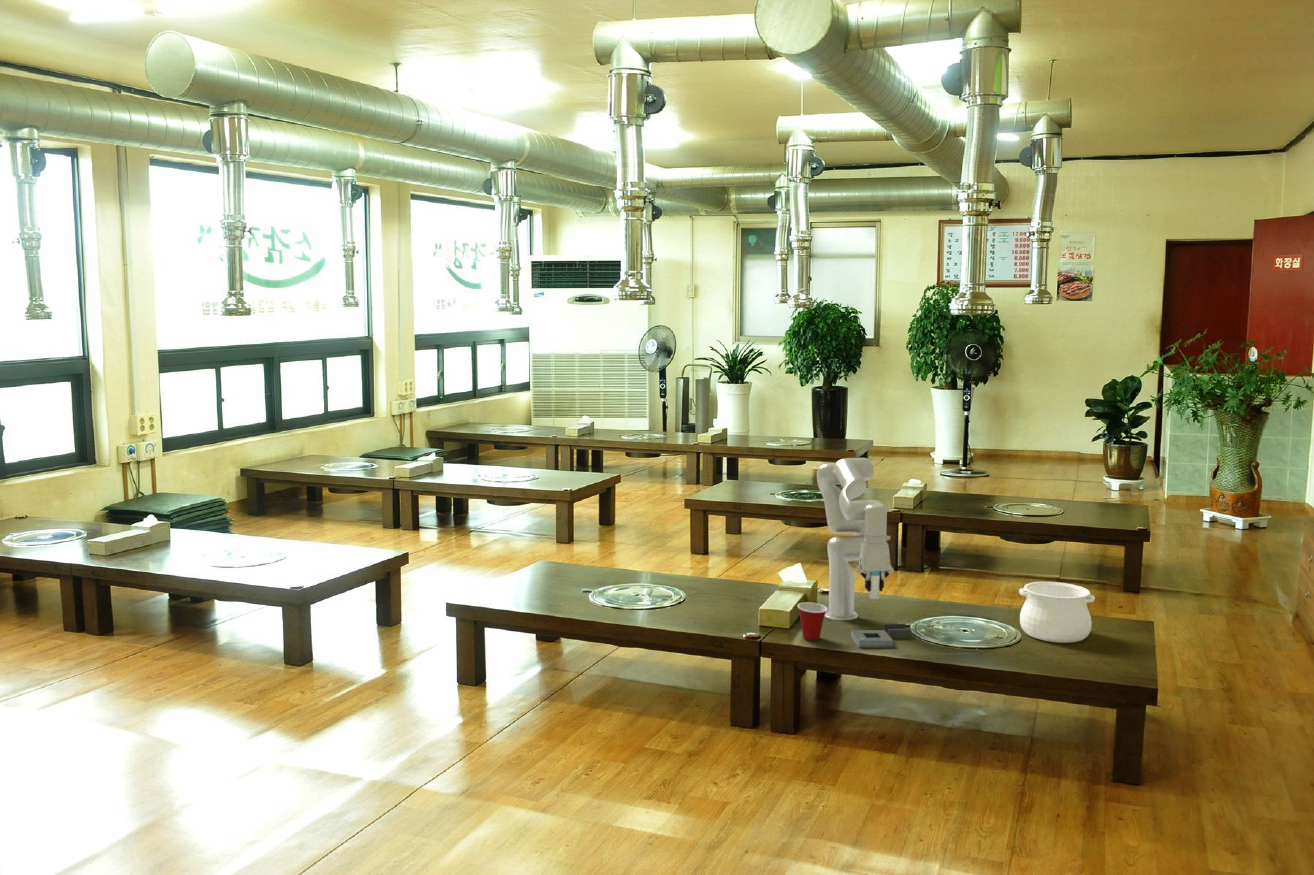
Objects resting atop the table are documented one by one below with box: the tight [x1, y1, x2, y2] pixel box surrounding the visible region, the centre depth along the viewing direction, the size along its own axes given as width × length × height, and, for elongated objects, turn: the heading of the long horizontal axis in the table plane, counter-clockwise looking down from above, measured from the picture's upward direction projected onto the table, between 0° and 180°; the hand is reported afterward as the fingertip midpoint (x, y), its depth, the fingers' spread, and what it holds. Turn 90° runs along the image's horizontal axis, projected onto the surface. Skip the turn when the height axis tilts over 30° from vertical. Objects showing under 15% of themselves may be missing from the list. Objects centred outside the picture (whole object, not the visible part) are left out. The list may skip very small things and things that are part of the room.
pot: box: [1018, 581, 1096, 644], centre depth 380 cm, size 26×24×17 cm
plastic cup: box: [797, 601, 829, 642], centre depth 376 cm, size 11×11×12 cm
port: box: [850, 629, 894, 649], centre depth 370 cm, size 12×12×3 cm
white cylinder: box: [868, 571, 881, 600], centre depth 368 cm, size 4×4×11 cm
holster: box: [882, 623, 912, 639], centre depth 378 cm, size 8×8×4 cm
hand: (874, 590), depth 368 cm, fingers closed on white cylinder, 3 cm apart
